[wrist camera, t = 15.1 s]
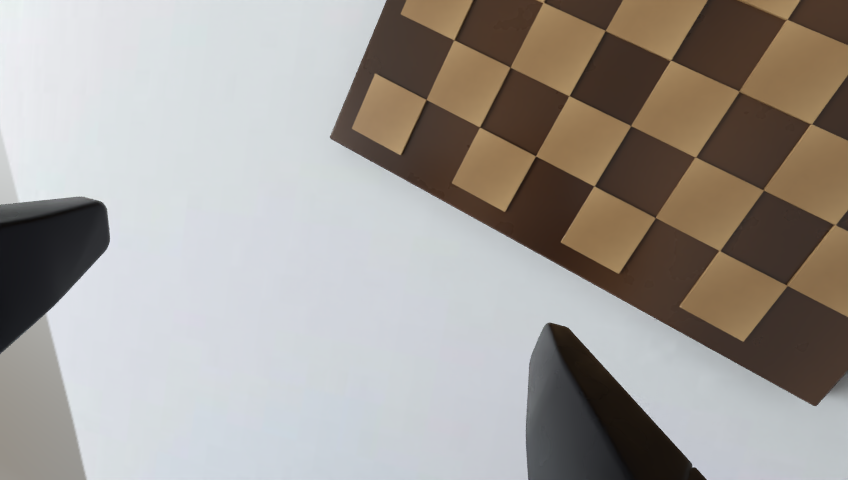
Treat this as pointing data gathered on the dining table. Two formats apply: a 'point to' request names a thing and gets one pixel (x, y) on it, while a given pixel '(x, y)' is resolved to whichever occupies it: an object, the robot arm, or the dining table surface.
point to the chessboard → (639, 154)
